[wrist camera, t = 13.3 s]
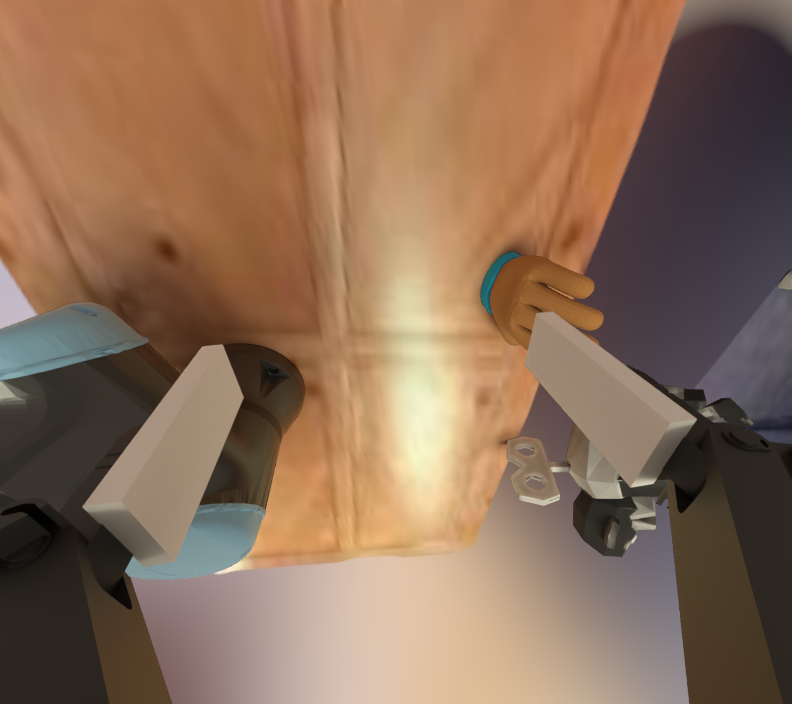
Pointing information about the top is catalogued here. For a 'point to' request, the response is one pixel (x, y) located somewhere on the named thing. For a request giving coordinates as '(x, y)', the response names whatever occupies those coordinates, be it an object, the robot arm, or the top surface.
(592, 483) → the toy
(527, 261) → the orange glove
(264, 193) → the top surface
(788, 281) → the handgun
